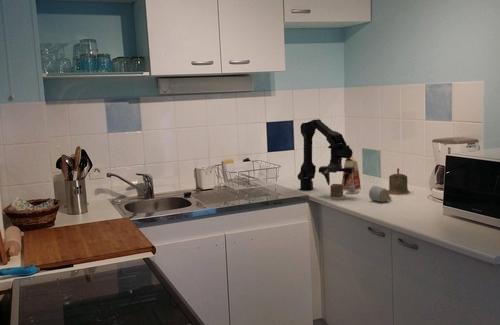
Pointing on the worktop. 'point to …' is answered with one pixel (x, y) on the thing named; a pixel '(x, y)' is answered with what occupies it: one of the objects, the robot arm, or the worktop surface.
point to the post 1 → (337, 197)
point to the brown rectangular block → (336, 190)
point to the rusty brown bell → (398, 184)
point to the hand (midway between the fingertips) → (336, 185)
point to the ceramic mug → (379, 194)
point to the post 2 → (352, 190)
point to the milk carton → (352, 175)
